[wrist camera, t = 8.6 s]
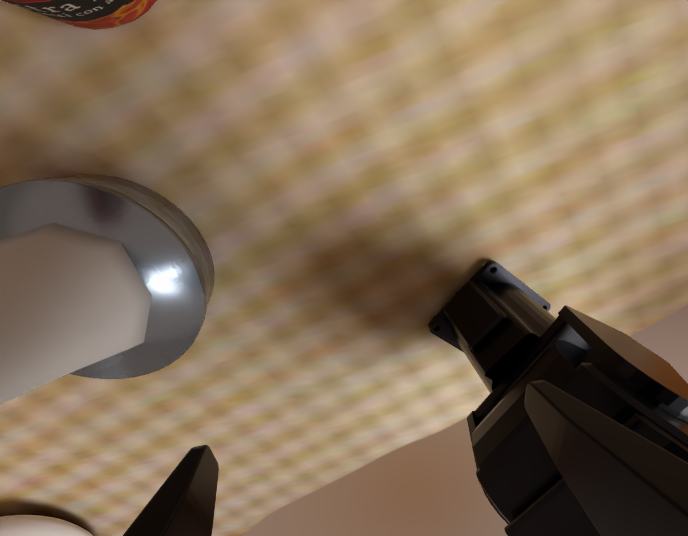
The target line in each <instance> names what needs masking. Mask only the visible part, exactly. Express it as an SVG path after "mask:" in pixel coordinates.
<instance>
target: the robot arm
mask: <svg viewBox="0 0 688 536" xmlns="http://www.w3.org/2000/svg"><path fill="white" fill-rule="evenodd" d="M492 267H494V269H493V270H492V271H490V269H491V268H492ZM542 306H543V307H542ZM549 309H550V304H549V303H548V302H547V301H546V300H544V299H543V298H542V297H541V296H539V295H538V294H537V293H535V292H534V291H533V290H531V289H530V288H529V287H528V286H526V285H525V284H524V283H522V282H521V281H520V280H519V279H517V278H516V277H515V276H513V275H512V274H511V273H510V272H508V271H507V270H506V269H504V268H503V267H502V266H501V265H499V264H498V263H497V262H495V261H489V262H487V263H486V264H485V265H484V266H483V267H482V268H481V269H480V270H479V271H478V272H477V273H476V274H475V275H474V276H473V278H472V279H471V280H470V281H469V282H468V283H467V284H466V285H465V286H464V287H463V288H462V289H461V290H460V291H459V292H458V293H457V294H456V295H455V296H454V297H453V299H452V300H451V301H450V302H449V303H448V304H447V305H446V306H445V307H444V308H443V309H442V310H441V311H440V312H439V313H438V314H437V315H436V316H435V317H434V318H433V320H432V321H431V322H430V323H429V325H428V327H429V329H430V331H431V332H432V333H433V334H434V335H436V336H438V337H439V338H441V339H443V340H444V341H446V342H448V343H449V344H451V345H453V346H454V347H456V348H458V349H459V350H461V351H463V352H464V353H465V354H466V356H467V358H468V359H469V361H470V362H471V364H472V365H473V367H474V368H475V370H476V372H477V373H478V375H479V376H480V378H481V379H482V381H483V382H484V384H485V386H486V387H487V389H488V390H489V392H490V395H489V396H488V397H487V398H486V399H485V400H484V401H483V402H482V404H481V405H480V406H479V407H478V408H477V409H476V410H475V411H472V412H471V413H470V414H469V416H468V417H467V421H468V426H469V431H470V437H471V442H472V448H473V452H474V457H475V462H476V467H477V471H476V474H477V478H478V481H479V483H480V484H481V486H482V488H483V491H484V493H485V495H486V497H487V498H488V500H489V501H490V503H491V505H492V506H493V507H494V509H495V510H496V511H497V513H498V514H499V515H500V516H501V517H502V518H503V519H504V520H505V521H506V523H507V524H508V525H507V526H506V527H505V532H506V534H507V535H508V536H688V383H686V381H685V380H684V379H683V378H682V377H681V376H680V375H679V374H678V372H677V371H676V370H675V369H674V368H673V367H672V366H671V365H670V364H669V363H668V362H667V361H665V360H664V359H662V358H661V357H659V356H658V355H656V354H655V353H654V352H652V351H650V350H649V349H647V348H646V347H644V346H643V345H641V344H640V343H638V342H637V341H635V340H634V339H632V338H631V337H629V336H628V335H626V334H624V333H623V332H621V331H619V330H616V329H614V328H612V327H610V326H608V325H606V324H604V323H602V322H600V321H597V320H595V319H593V318H591V317H589V316H587V315H585V314H583V313H581V312H579V311H576V310H574V309H572V308H570V307H568V306H566V305H565V306H564V307H563V308H562V309H561V311H560V312H559V313H558V314H559V316H558V317H557V318H555V317H553V316H552V315H551V314H550V313H549V312H548V311H549ZM437 325H438V327H436V328H434V327H435V326H437ZM218 471H219V468H218V463H217V460H216V459H215V457H214V455H213V453H212V451H211V449H210V447H209V446H207V445H202V446H197V447H193V448H192V449H191V450H190V451H189V452H188V453H187V454H186V456H185V457H184V458H183V459H182V461H181V462H180V463H179V464H178V466H177V467H176V468H175V470H174V471H173V472H172V473H171V475H170V476H169V477H168V478H167V480H166V481H165V482H164V484H163V485H162V486H161V487H160V489H159V490H158V491H157V492H156V494H155V495H154V496H153V498H152V499H151V500H150V501H149V503H148V504H147V505H146V507H145V508H144V509H143V510H142V512H141V513H140V514H139V515H138V517H137V518H136V519H135V521H134V522H133V523H132V524H131V526H130V527H129V528H128V529H127V531H126V532H125V533H124V535H123V536H211V535H212V528H213V519H214V509H215V500H216V491H217V481H218Z"/></svg>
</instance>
